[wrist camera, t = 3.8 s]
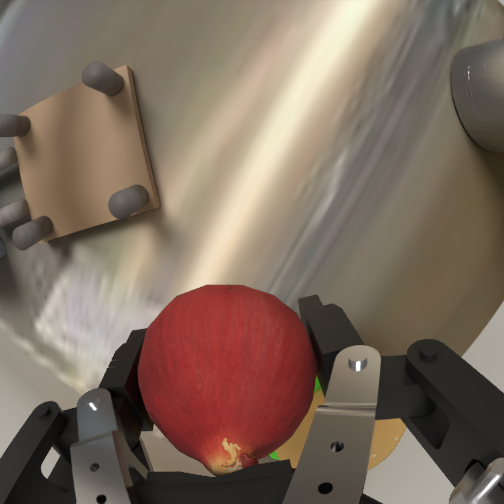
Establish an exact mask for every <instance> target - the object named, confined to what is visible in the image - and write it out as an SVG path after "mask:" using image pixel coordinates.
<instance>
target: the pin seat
mask: <svg viewBox="0 0 504 504" xmlns="http://www.w3.org/2000/svg"><path fill="white" fill-rule="evenodd" d="M82 81H83V82H81V83H79V84H77V85H75V86H72V87H70V88H68V89H66V90H64V91H62V92H60V93H58V94H56V95H54V96H52V97H50V98H48V99H46V100H44V101H42V102H40V103H38V104H36V105H34V106H32V107H31V108H29V109H27V110H25V111H24V112H22V113H20V114H18V115H10V114H0V137H14V143H15V149H16V150H15V149H14V148H12V147H10V148H8V149H6V150H5V151H3V152H1V153H0V172H1V171H3V170H5V169H6V168H8V167H10V166H12V165H14V164H15V163H16V162H17V160H18V166H19V171H20V175H21V180H22V184H23V189H24V193H25V197H26V200H25V199H20V200H18V201H16V202H13V203H11V204H9V205H7V206H5V207H3V208H1V209H0V227H2V226H4V225H6V224H9V223H11V222H13V221H16V220H18V219H20V218H23V217H25V216H27V215H28V213H29V212H30V216H31V219H32V221H30V222H28V223H25V224H23V225H21V226H19V227H17V228H15V229H14V231H13V235H12V238H13V242H14V245H15V246H16V247H17V248H18V249H19V250H26V249H27V248H29V247H31V246H32V245H34V244H36V243H37V242H39V244H40V243H43V242H46V241H49V240H52V239H55V238H58V237H62V236H65V235H68V234H71V233H74V232H77V231H81V230H84V229H87V228H90V227H94V226H97V225H100V224H104V223H107V222H111V221H114V220H117V219H126V218H128V217H129V216H132V215H135V214H139V213H143V212H146V211H150V210H154V209H157V208H158V207H160V202H159V198H158V194H157V190H156V186H155V182H154V178H153V174H152V170H151V165H150V161H149V157H148V152H147V148H146V143H145V139H144V134H143V129H142V125H141V120H140V115H139V110H138V105H137V99H136V94H135V88H134V83H133V77H132V71H131V68H130V67H128V66H127V65H125V66H122V67H119V68H116V69H114V70H112V69H111V68H109V67H108V66H106V65H105V64H103V63H102V62H98V61H97V62H92V63H91V64H89V65H88V66H87V67H86V68H85V69H84V71H83V74H82Z"/></svg>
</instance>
